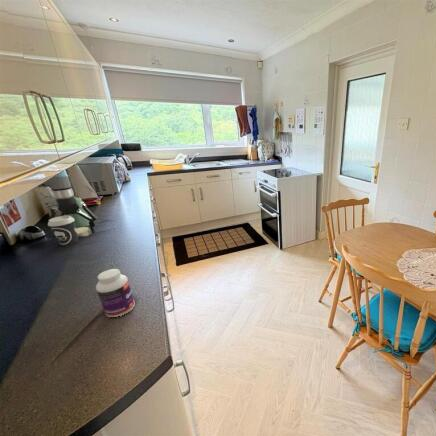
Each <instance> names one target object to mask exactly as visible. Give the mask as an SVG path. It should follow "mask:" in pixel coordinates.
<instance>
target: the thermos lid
mask: <svg viewBox="0 0 436 436" xmlns="http://www.w3.org/2000/svg"><path fill="white" fill-rule="evenodd" d="M76 232H77V236H78V237H88V236H90V235H91V233H92V232H91V229H90V228H89V227H88V226H86V227H81V228H76Z"/></svg>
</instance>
